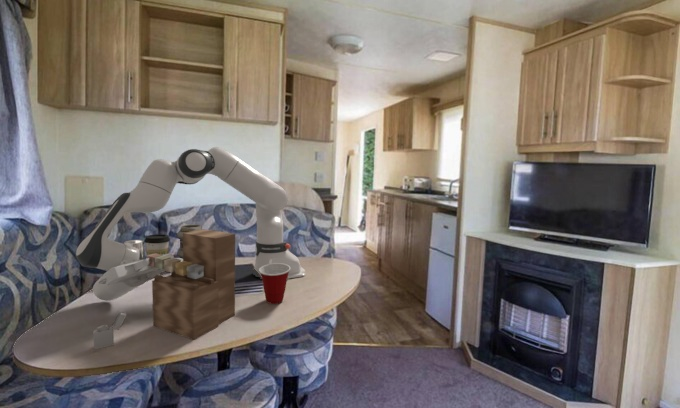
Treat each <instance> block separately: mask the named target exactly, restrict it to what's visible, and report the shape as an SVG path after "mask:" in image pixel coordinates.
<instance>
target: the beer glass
mask: <svg viewBox="0 0 680 408" xmlns="http://www.w3.org/2000/svg"><path fill="white" fill-rule="evenodd" d="M123 244H127V245H130V246H133V247H136V248H138V249H139V250H140V252H141V254H142V258H143V259H145V242H144V240H142V239H132V240H131V239H130V240H126V241H124V243H123Z"/></svg>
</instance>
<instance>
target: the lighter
mask: <svg viewBox="0 0 680 408" xmlns="http://www.w3.org/2000/svg"><path fill="white" fill-rule="evenodd" d="M126 317H127V312H125V311H119V314H118V315H117V318H116V319H115V321H114V323H113V325H112V326H109V325H108V324H104V325H99V326H98V327H96V329H94V330H93V348H94V350H98V349H102V348H107V347H110V346H112V347H113V346H114V345H115V343H114V341H115V340H114V338H115V337H114V336H115V335H114V330H117V331H119V330H120V329H121V327H122V324H123V323H124V320H125V319H126Z"/></svg>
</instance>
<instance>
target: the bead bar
mask: <svg viewBox="0 0 680 408" xmlns="http://www.w3.org/2000/svg"><path fill="white" fill-rule="evenodd" d="M147 258H151V260H152V264H150V265H148V266H151V267H155V268H158V269H161V270H163V269H164V272H169V273H170V274H171V273H172V272H175V271H176V274H178V275H182V276H184V275H187V277H189V278H192V279H197V278H200V277H203V276H204V266H202V265H198V264H194V265H192V263H191V262H187V261H183V260H181V259H180V258H179V259H178V258H175V257H174V258H171V257H168V256H163V255H160V254H156V253H155V254H151V255H147V254H146V259H147Z"/></svg>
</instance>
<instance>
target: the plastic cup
mask: <svg viewBox="0 0 680 408" xmlns="http://www.w3.org/2000/svg"><path fill="white" fill-rule="evenodd" d="M289 271H290V266H289V265H286V264H281V263H274V264H267V265H264V266H262V267H261V268H259V272H260V273H261V276H262V278H261V280H262V286H263V290H264V291H263V292H264V296H265V300H266V303H268V304H272V305H273V304H275V305H276V304H280V303H282V302H283V300H284V296H285V292H286V287H287V281H288V279H289V278H288V273H289ZM287 278H288V279H287Z"/></svg>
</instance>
